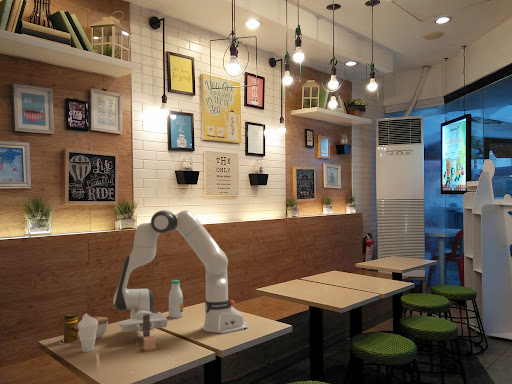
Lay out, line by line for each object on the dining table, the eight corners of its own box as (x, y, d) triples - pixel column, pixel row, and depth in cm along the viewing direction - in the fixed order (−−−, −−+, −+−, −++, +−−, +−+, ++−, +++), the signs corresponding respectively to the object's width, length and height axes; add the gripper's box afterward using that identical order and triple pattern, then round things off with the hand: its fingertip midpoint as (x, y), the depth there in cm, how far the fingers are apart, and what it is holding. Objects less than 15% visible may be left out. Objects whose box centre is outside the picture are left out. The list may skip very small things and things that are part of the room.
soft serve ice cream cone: (95, 346, 187) (95, 309, 187) (100, 351, 180) (100, 313, 180) (75, 350, 182) (75, 312, 182) (80, 355, 175) (80, 316, 175)
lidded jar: (92, 332, 207) (92, 313, 207) (112, 333, 205) (112, 313, 205) (79, 339, 196) (79, 319, 197) (100, 340, 195) (100, 319, 195)
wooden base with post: (135, 342, 189) (135, 313, 190) (153, 340, 193) (153, 311, 193) (140, 355, 174) (140, 323, 174) (160, 352, 177) (160, 320, 177)
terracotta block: (143, 347, 179) (143, 337, 179) (154, 346, 181) (154, 335, 181) (144, 351, 175) (144, 340, 175) (155, 349, 177) (155, 338, 177)
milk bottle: (176, 319, 228) (176, 282, 229) (165, 317, 232) (165, 281, 233) (185, 315, 235) (185, 279, 236) (175, 314, 239) (174, 278, 239)
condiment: (80, 341, 194) (79, 315, 194) (60, 345, 189) (59, 318, 189) (77, 337, 200) (76, 312, 200) (57, 340, 195) (57, 314, 195)
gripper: (119, 316, 195) (122, 324, 182) (163, 311, 203) (169, 318, 190) (119, 330, 194) (122, 339, 182) (163, 324, 202) (169, 332, 190)
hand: (146, 328), depth 186 cm, fingers open, 3 cm apart
